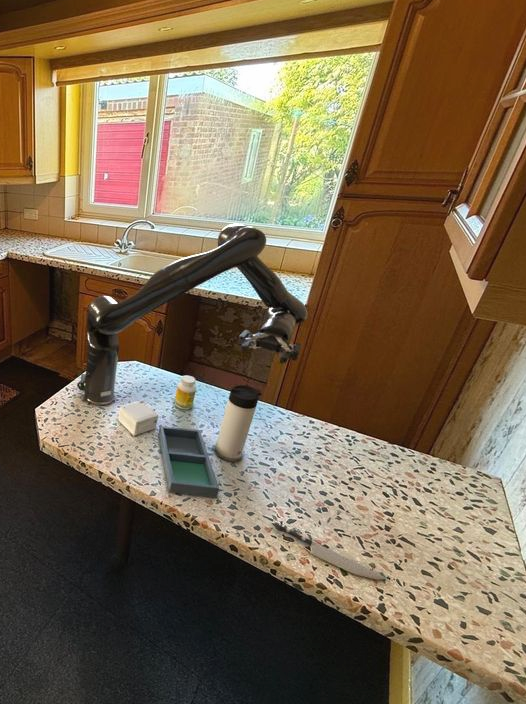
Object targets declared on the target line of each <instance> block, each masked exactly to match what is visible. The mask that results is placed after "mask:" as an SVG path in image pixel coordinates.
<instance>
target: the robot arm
mask: <svg viewBox="0 0 526 704" xmlns="http://www.w3.org/2000/svg"><path fill="white" fill-rule="evenodd" d="M266 245H267V236H266V234H265V233H264V231H262V230H260V229H259V228H256V227H253V226H249V225H244V224H239V223H233V224H229V225H227V226H225V227H223V229H222V230H221V231H220V232H219V234H218V237H217V247H216V248H214V249H212V250H210V251H207V252H202V253H199V254H194V255H190V256H186V257H183V258H180V259H178V260H175V261H173V262H171V263H169V264H167V265H165V266H164V267H162V268H160V269H158V270H157V271H156V272H154V273H153V274H152V275H151V276H150V277H149V278H148V279H147V281H146V282H145V283H144V284H143V285H142V287H141V288H140V289H139V290H138V291H137V292H135V293H134V294H132V295H131V296H129V297H127V298H125V299H123V300H121V301H119V302H117V301H116V300H115V298H113V297H111V296H109V295H100V296H98V297H96V298H94V299H93V300H92V301H91V302H90V304H89V306H88V309H87V314H86V315H87V316H86V342H87V352H86V353H87V355H86V366H85V373H80V380H79V381H78V382H77V383H76V387H77V388H78V390H79V391H83V401H84V402H88V403H90V404H92V405H95V406H107V405H110V404H111V403H112V402H113V401H114V397H115V387H116V379H117V378H116V377H117V370H118V361H119V352H120V342H119V337H118V333H120V332H122V331H124V330H125V329H127V328H128V327H129V326H131V325H132V324H134V323H135V322H137V321H138V320H140V319H142V318H143V317H144V316H146V315H148V314H150V313H151V312H153V311H154V310H157V309H159V308H160V307H162V306H164V305H165V304H167V303H169V302H172V301H173V300H175V299H177V298H178V297H180V296H183V295H184V294H186V293H188V292H190V291H192V290H193V289H195V288H196V287H198V286H200V285H203V284H204V283H206V282H208V281H210V280H211V279H213V278H215V277H217V276H219V275H221V274H223V273H225V272H227V271H229V270H232V269H234V268H237V269H238V270H239V272H240V273H241V274H242V275H243V277H244V278H245V279H246V280H247V281H248V283H249V284H250V285H251V287H252V288H253V290H254V291H255V293H256V294H257V296H258V298H260V300H261V301H262V303H263V304H264V306H266V307H267V308H269V309H268V310H267V311H266V317H267V321H265V323H264V324H263V325H262V327H261V328H260V330H259V331H258V332H257V333H255V334H253V333H251V331H250V330H249V329H245V330H243V331H242V332H241V334H240V335H239V336H238V339H237V343H236V344H237V345H238V346H241V348H240V350H241V351H242V353H243V354H247V352H248V351H249V349H253V350H256V349H264V350H267V351H271V352H274V353H275V354H276V355H277V356H278V357H280V359H279V362H278V363H279V364H280V365H283V364H286V363H287V362H288V361H289V359H291V360H292V361H294V362H296V361H298V358H299V355H300V353H301V348H302V343H300V342H296V343H295V344H294V343H290V340H291V339H292V336H293V333H294V330H295V327H296V325H298V324H301V323H304V322H305V321H306V320H307V318H308V317H309V316H308V315H309V312H308V309H307V307H306V305H305V304H304V303H303V302H302V301H301V300H300V299H298V298H297V297H295V296H294V295H293V294H292V293H290V292H289V291H288V290H287V288H286V287H285V285H284V283H283V282H282V280H281V279H280V278H279V276H278V275H277V274H276V273H275V272H274V271H273V270H272V269H271V268H270V267H269V266H268V265H267V264H266V263H265V262H264V261H262V260H261V258H259V255H261V253H262V252H263V251H264V249H265V248H266Z"/></svg>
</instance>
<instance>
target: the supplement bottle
mask: <svg viewBox="0 0 526 704" xmlns="http://www.w3.org/2000/svg"><path fill="white" fill-rule="evenodd" d="M196 382H197V381H196V378H195V377H194V376H191V375H188V374H187V375H182V376H181V379H180V381H179V382H178V383H177V388H176V392H175V395H174V396H175V397H174V400H173V401H174V405H175V406H176V407H177V408H178V409H180V410H181V409H182V410H190V409H191V408H193V405H194V401H195V396H196V393H197V392H196V391H197V386H196Z"/></svg>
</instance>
